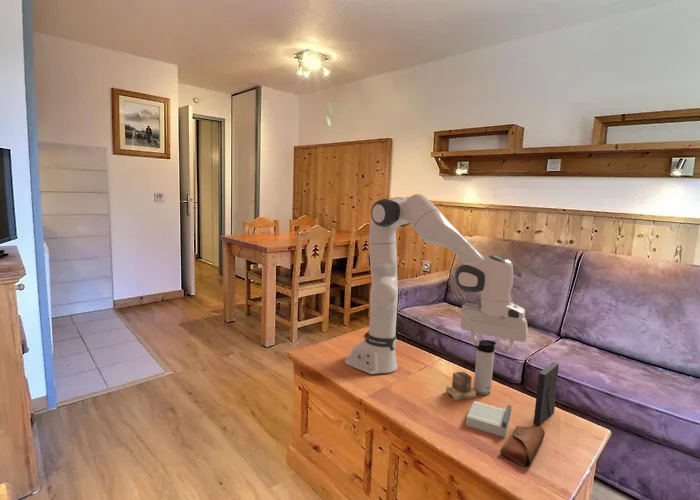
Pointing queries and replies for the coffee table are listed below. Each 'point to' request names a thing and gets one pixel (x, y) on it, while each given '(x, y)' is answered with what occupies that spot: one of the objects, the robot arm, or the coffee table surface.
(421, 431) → the coffee table surface
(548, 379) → the picture frame
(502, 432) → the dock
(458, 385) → the pallet
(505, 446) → the sunglasses case
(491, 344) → the travel mug
